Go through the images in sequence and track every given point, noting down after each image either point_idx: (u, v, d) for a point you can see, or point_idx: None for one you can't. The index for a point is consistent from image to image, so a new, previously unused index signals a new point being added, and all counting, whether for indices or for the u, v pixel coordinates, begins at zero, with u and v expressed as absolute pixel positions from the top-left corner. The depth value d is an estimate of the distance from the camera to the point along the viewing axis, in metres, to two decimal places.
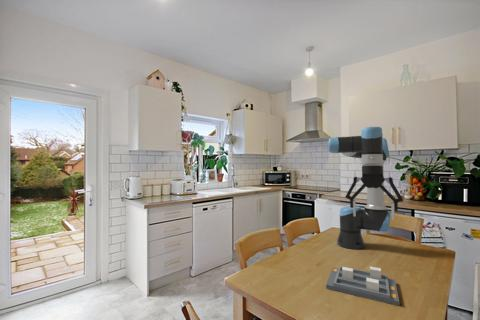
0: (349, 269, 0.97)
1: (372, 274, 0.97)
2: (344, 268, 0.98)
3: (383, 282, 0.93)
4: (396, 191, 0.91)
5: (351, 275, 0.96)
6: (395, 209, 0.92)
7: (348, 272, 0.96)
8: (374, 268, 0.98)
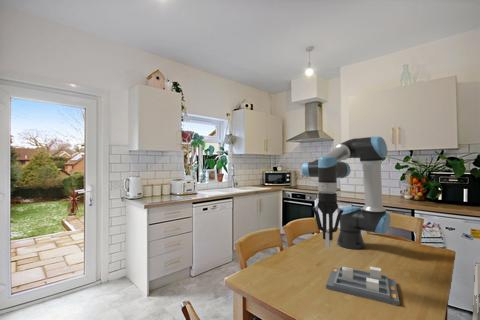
0: (349, 269, 0.97)
1: (372, 274, 0.97)
2: (344, 268, 0.98)
3: (383, 282, 0.93)
4: (337, 222, 0.99)
5: (351, 275, 0.96)
6: (330, 238, 1.00)
7: (348, 272, 0.96)
8: (374, 268, 0.98)
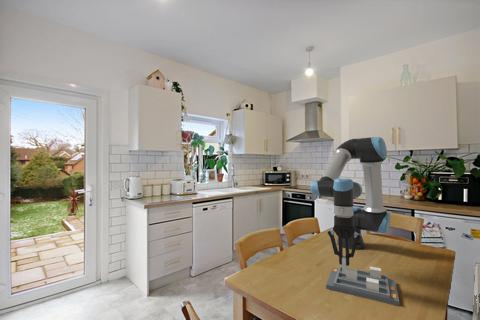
0: (353, 270, 0.97)
1: (372, 274, 0.97)
2: (348, 269, 0.98)
3: (383, 282, 0.93)
4: (354, 248, 0.96)
5: (355, 276, 0.95)
6: (347, 264, 0.97)
7: (352, 273, 0.95)
8: (374, 268, 0.98)
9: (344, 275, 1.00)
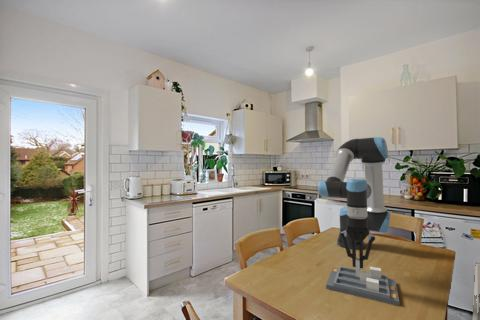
0: (367, 272, 0.94)
1: (372, 274, 0.97)
2: (362, 271, 0.95)
3: (383, 282, 0.93)
4: (368, 250, 0.93)
5: None
6: (361, 266, 0.95)
7: (366, 275, 0.93)
8: (374, 268, 0.98)
9: (344, 275, 1.00)
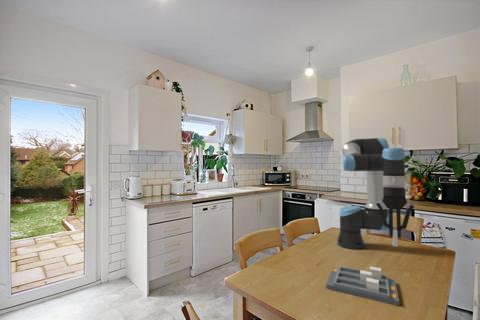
0: (367, 273, 0.94)
1: (372, 274, 0.97)
2: (362, 271, 0.95)
3: (383, 282, 0.93)
4: (407, 218, 0.92)
5: None
6: (398, 236, 0.94)
7: (366, 275, 0.93)
8: (374, 268, 0.98)
9: (344, 275, 1.00)
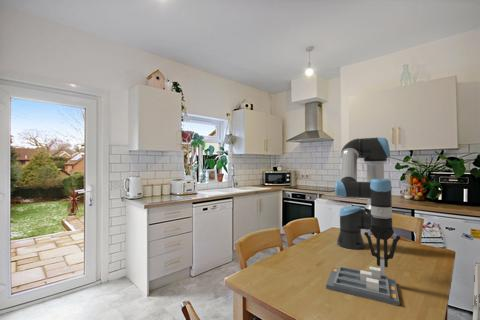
0: (367, 273, 0.94)
1: (372, 274, 0.97)
2: (362, 271, 0.95)
3: (383, 282, 0.93)
4: (393, 249, 0.94)
5: None
6: (385, 265, 0.96)
7: (366, 275, 0.93)
8: (373, 268, 0.98)
9: (344, 275, 1.00)
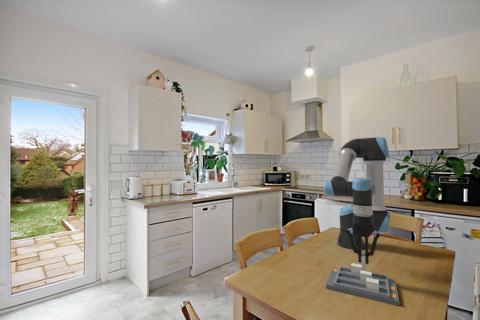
0: (367, 273, 0.94)
1: (353, 270, 1.01)
2: (362, 271, 0.95)
3: (383, 282, 0.93)
4: (373, 246, 0.97)
5: None
6: (366, 262, 0.99)
7: (366, 275, 0.93)
8: (355, 265, 1.02)
9: (344, 275, 1.00)
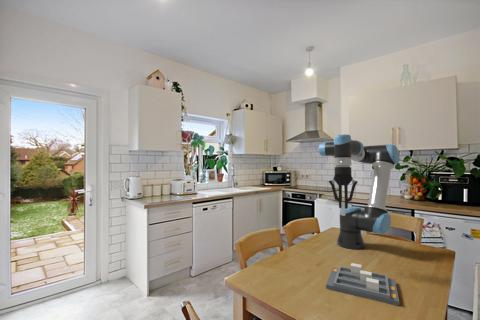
0: (367, 273, 0.94)
1: (353, 270, 1.01)
2: (362, 271, 0.95)
3: (383, 282, 0.93)
4: (352, 192, 1.12)
5: None
6: (345, 207, 1.13)
7: (366, 275, 0.93)
8: (355, 264, 1.02)
9: (344, 275, 1.00)
